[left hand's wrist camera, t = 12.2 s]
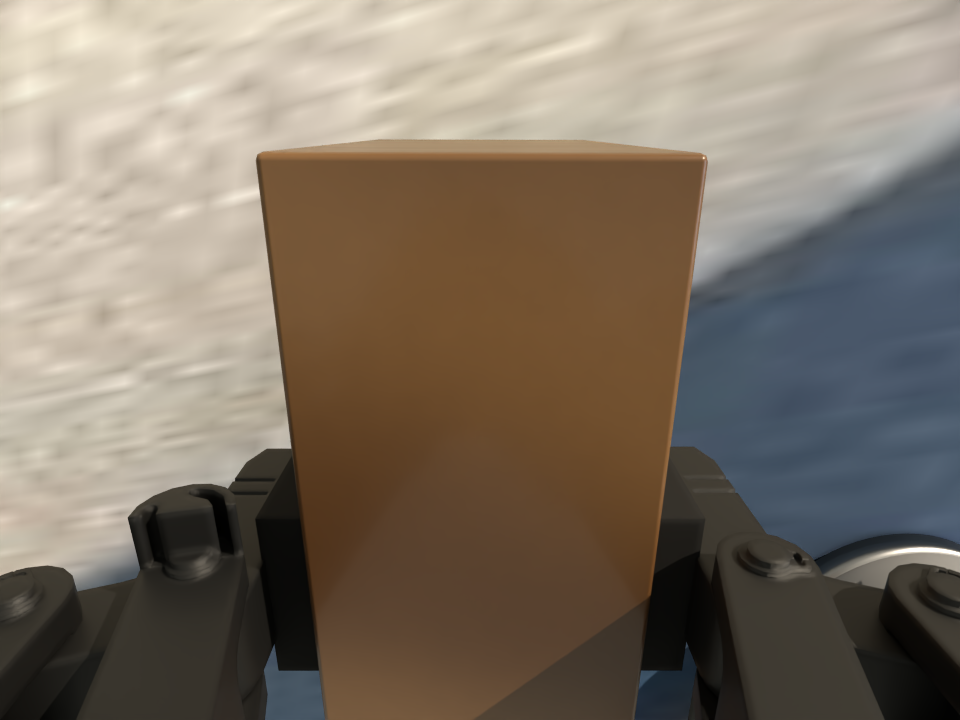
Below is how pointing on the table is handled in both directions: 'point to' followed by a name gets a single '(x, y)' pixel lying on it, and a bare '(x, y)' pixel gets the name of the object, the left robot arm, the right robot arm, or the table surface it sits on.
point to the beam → (480, 413)
